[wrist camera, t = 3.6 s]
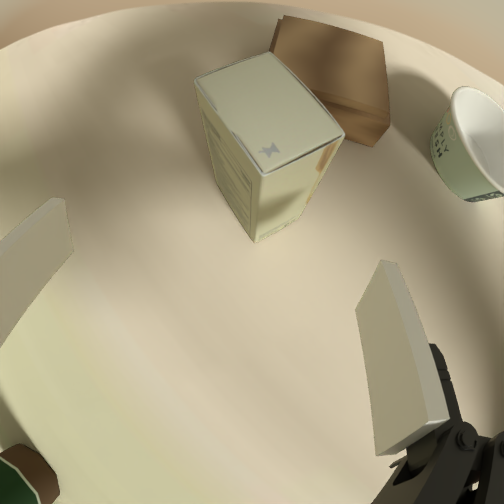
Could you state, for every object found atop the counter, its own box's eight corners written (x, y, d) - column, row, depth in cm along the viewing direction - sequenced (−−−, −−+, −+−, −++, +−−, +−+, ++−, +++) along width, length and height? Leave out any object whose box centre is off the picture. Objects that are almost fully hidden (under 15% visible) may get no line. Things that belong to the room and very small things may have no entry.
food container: (411, 103, 26) (439, 69, 19) (484, 133, 26) (514, 110, 20) (425, 203, 24) (467, 179, 17) (501, 223, 24) (540, 208, 18)
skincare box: (300, 218, 23) (355, 140, 11) (253, 245, 23) (266, 185, 11) (258, 154, 24) (271, 46, 12) (212, 178, 23) (190, 76, 11)
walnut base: (371, 70, 26) (386, 40, 21) (372, 147, 24) (395, 119, 20) (274, 45, 26) (279, 11, 21) (255, 118, 24) (258, 82, 20)
